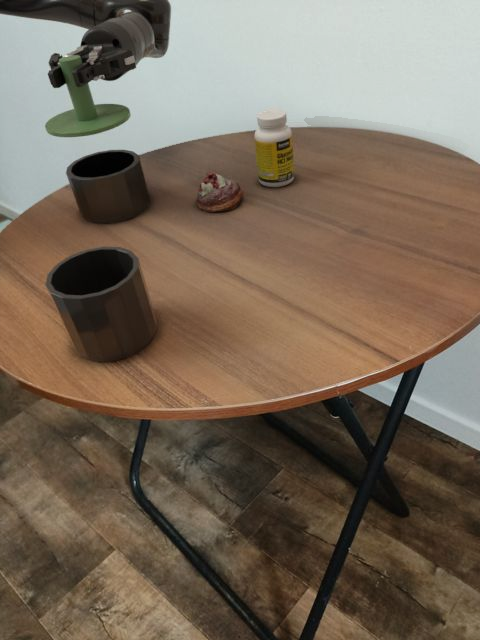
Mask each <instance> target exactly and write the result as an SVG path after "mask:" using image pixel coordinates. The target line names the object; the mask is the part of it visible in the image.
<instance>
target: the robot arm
mask: <svg viewBox="0 0 480 640" xmlns="http://www.w3.org/2000/svg"><path fill="white" fill-rule="evenodd" d="M126 11H127V12H126ZM0 15H5V16H11V17H16V18H17V17H18V18H25V19H33V20H41V21H51V22H56V23H62V24H68V25H72V26H75V27H79V28H82V29H86V31H85V33H84V34H83V36H82V37H81V41H80V45H79V46H77V47H76V49H75V50H73V51H71V52H68V53H66V54H65V56H63V55H62V54H60V53H57V52H54V53H53V54H51V55H50V58H49V60H48V66H49V67H50V70H49V71H48V72H47V76H48V79H49V82H50V85H51V86H52V88H53V89H60V88H62V87H63V86H64V85H66V82H65V79H64V75H63V72H62V69H61V66H60V63H59V59H60V58H63V57H66V56H72V55H79V56H80V57H81V60H82V64H81V65H79V66H78V67H76V68H75V69H73V70H72V74H73V78H74V81H75V84H76V86H77V87H83V86H84V85H86V84H87V83H88V84H89V83H90V82H92V81H95V82H97V81H99V80H102V81H104V82H105V81H106V82H114V81H117V80H119V79H121V77H123V76H125V75H126V74H127V73H128V72H130V71H133V70H135V69H137V65H138V64H139V63H140V62H141V60H143V59H145V58H150V59H161V58H163V57H165V55H166V54H167V51H168V50H169V45H170V34H171V19H172V5H171V2H170V1H169V0H0Z"/></svg>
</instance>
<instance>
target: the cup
mask: <svg viewBox="0 0 480 640" xmlns="http://www.w3.org/2000/svg"><path fill="white" fill-rule="evenodd" d="M45 287H46V290H47V292H48V294H49V296H50V298H51V301H52V303H53V305H54V307H55V309H56V311H57V314H58V316H59V318H60V321H61V323H62V325H63V327H64V329H65V332H66V333H67V336H68V338H69V340H70V342H71V344H72V347H73V348H74V350H75V352H76V354H78V355H79V356H80V357H81V358H83V359H84V360H87V361H89V362H96V363H110V362H116V361H120V360H123V359H126V358H129V357H131V356H134V355H135V354H137V353H139V352H140V351H142V350H144V349H145V348H146V347H147V346H148V345H149V344H150V343H151V342H152V341H153V339H154V338H155V336H156V333H157V330H158V322H157V316H156V313H155V309H154V307H153V302H152V300H151V295H150V293H149V290H148V289H149V288H148V286H147V283H146V279H145V276H144V273H143V269H142V265H141V262H140V259H139V257H138V255H136V254H135V253H134V252H133V251H132V250H130V249H127V248H123V247H121V246H98V247H93V248H88V249H84V250H82V251H79V252H76V253H73V254H71V255H69V256H67V257H66V258H64V259H63V260H61V261H60V262H58V263H57V264H55V265H54V266H53V268H52V269H51V270H50V271H49V272H48V273H47V274H46V279H45Z"/></svg>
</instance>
